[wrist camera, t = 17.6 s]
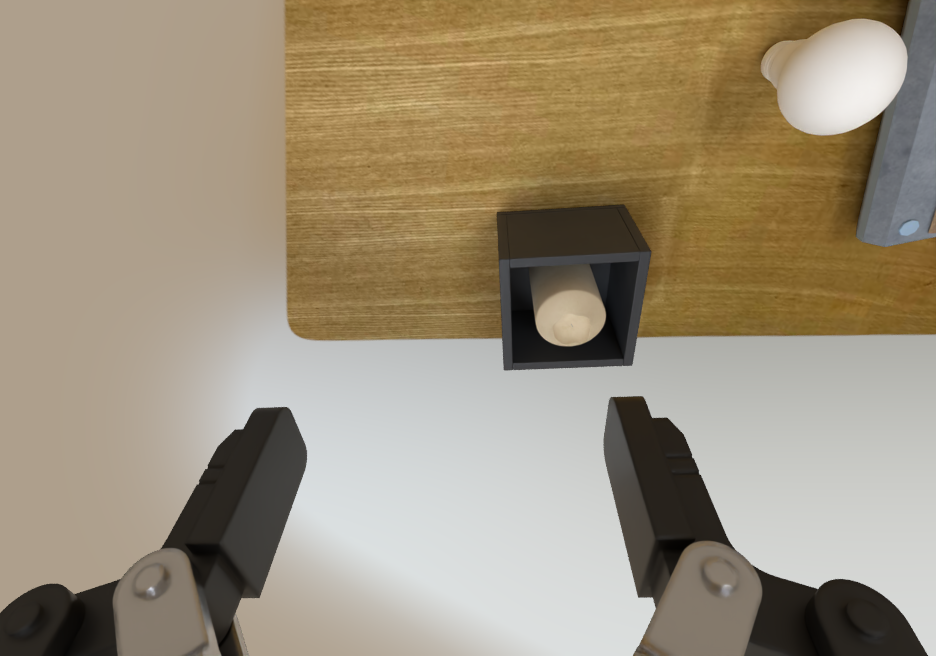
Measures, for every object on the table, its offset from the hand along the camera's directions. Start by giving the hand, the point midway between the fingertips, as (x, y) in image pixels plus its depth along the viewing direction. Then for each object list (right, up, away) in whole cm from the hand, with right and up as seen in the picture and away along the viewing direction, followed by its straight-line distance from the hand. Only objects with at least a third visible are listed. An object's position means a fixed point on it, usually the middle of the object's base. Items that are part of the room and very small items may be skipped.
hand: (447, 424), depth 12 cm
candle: (+9, +8, +33) cm, 35 cm away
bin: (+9, +9, +33) cm, 36 cm away
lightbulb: (+23, +22, +23) cm, 39 cm away
